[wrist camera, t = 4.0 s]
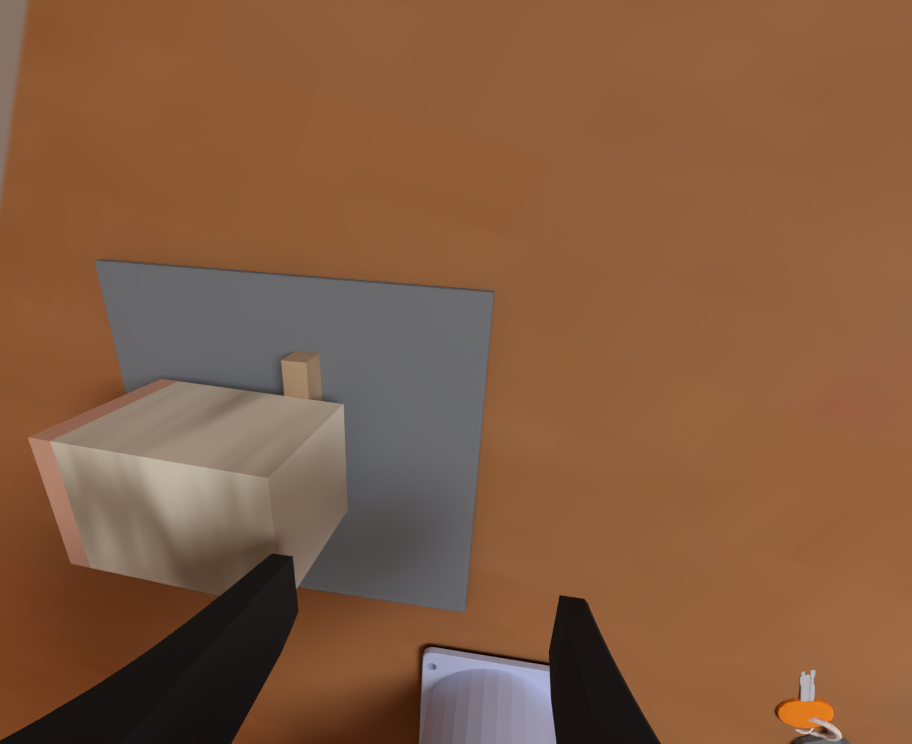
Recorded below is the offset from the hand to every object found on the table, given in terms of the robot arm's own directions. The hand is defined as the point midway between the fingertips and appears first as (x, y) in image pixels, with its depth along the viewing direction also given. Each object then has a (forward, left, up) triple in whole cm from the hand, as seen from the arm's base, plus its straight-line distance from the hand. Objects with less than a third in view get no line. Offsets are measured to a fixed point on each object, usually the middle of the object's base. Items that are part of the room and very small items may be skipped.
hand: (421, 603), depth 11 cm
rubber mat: (-1, +7, -8) cm, 11 cm away
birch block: (0, +5, -4) cm, 6 cm away
